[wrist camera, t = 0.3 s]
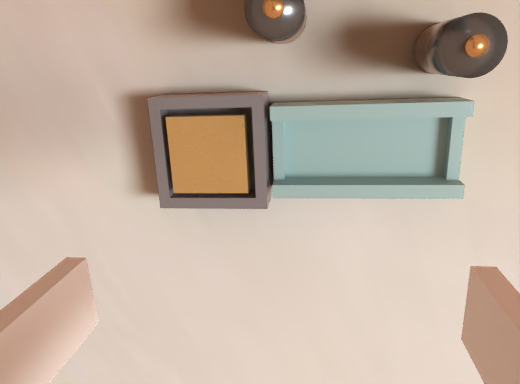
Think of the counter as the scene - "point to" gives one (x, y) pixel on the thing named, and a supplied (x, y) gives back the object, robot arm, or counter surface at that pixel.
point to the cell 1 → (276, 19)
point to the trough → (369, 148)
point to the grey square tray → (213, 105)
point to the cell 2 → (462, 46)
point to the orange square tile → (208, 153)
